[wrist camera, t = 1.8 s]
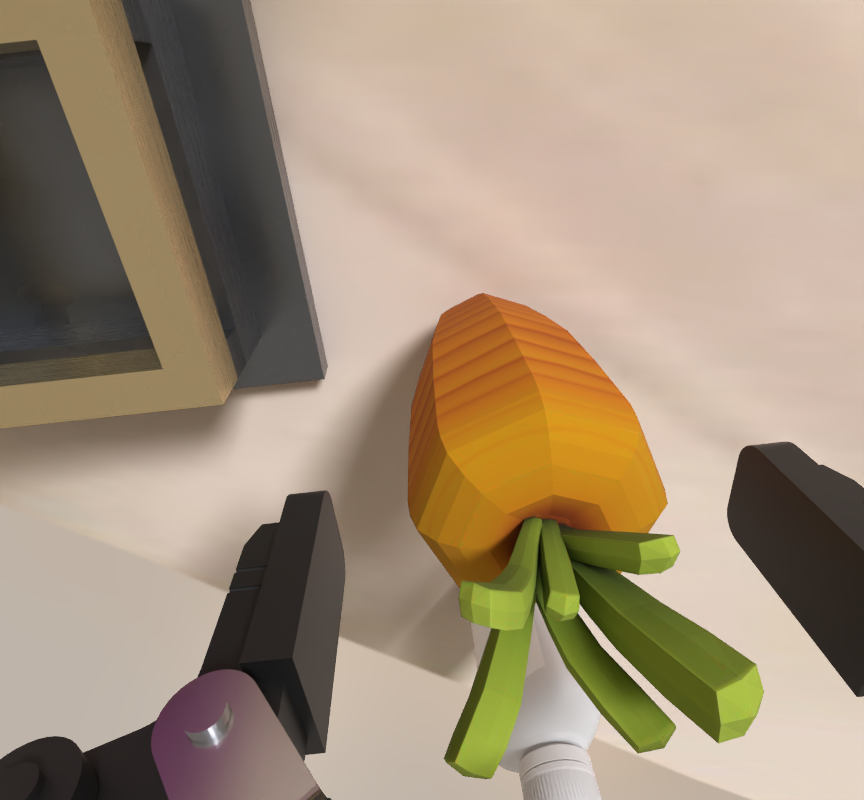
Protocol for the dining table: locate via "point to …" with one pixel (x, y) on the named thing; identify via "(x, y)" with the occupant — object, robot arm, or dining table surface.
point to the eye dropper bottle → (549, 724)
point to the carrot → (554, 533)
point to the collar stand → (143, 213)
